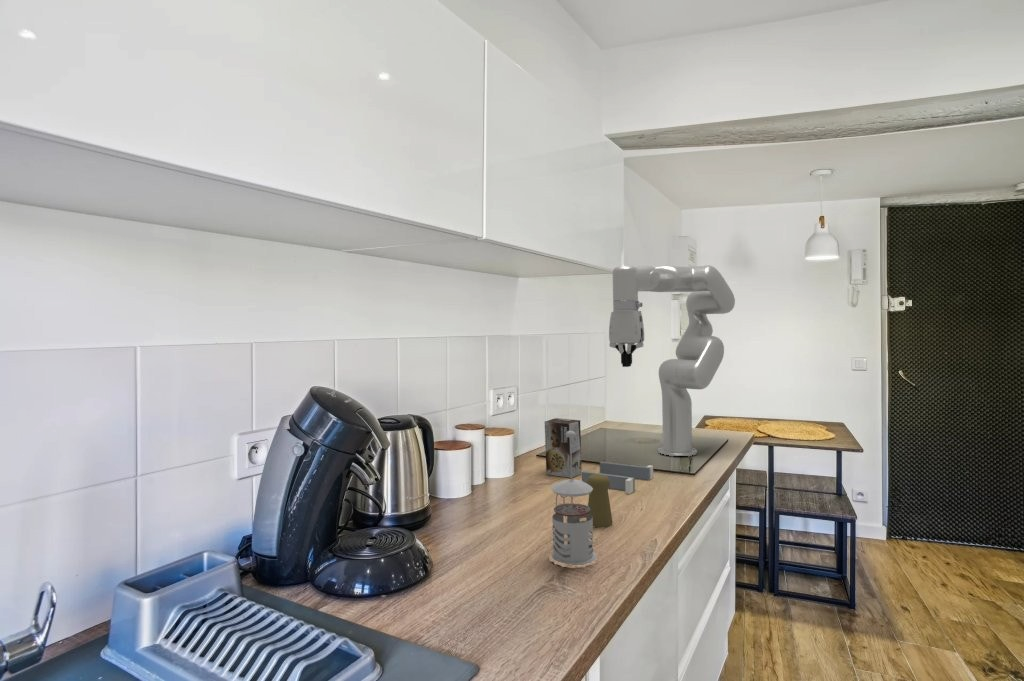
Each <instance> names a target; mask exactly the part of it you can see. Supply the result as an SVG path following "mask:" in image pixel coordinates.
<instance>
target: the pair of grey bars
mask: <svg viewBox="0 0 1024 681" xmlns="http://www.w3.org/2000/svg"><path fill="white" fill-rule="evenodd" d="M593 474H603V475H606V476H608V477H609V479H610V487H609V489H610V490H611V489H612V490H619V491H625V494H626V495H627V494H628V495H631V494H632V493H633V492H635V491H636V481H635V480H642V481H648V480H649V481H651V480H652V479H653V478H654V465H650V464H648V465H646V466H642V465H632V464H626V463H625V464H624V463H623V464H622V463H615V462H606V461H599V472H595V471H594V472H593V471H585V470H582V474H581V481H583V482H585V483H587V479H588V477H589V476H590V475H593ZM650 479H651V480H650Z"/></svg>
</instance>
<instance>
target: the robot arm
mask: <svg viewBox="0 0 1024 681" xmlns="http://www.w3.org/2000/svg"><path fill="white" fill-rule="evenodd" d="M639 292H652V293H689V294H688V295H687V297H686V300H685V301H686V302H685V304H686V305H685V307H686V310H687V315H688V326H687V327H686V329H685V331H684V333H683V335H682V337H681V338H680V340H679V342H678V344H677V346H676V349H675V356H676V358H670V359H667V360H665V361H663V362H662V363H661V364H660V366H659V367H658V368H659V369H658V379H659V383H660V388H661V390H660V391H661V397H662V398H661V399H662V400H661V401H662V403H661V405H662V406H661V408H662V409H661V411H662V413H661V414H662V446H661V447H658V449H657V450H658V454H660V453H661V454H660V455H662V454H664V455H663V456H666V455H669V456H668V457H673V456H688V457H693V456H696V455H697V454H698V450H697V448H695V447H693V416H692V415H693V414H692V413H693V412H692V411H693V409H692V408H693V405H692V404H693V403H692V399H691V395H690V393H689V391H688V389H689V390H704V389H706V388H708V386H709V385H710V384H711V383H712V380H713V378H714V377H715V375H716V373H717V371H718V369H719V368H720V365H721V363H722V361H723V358H724V354H725V346H724V343H723V341H722V339H720V337H718V336H715V335H713V331H714V330H713V325H712V324H711V322H710V320H709V319H708V316H707V315H720V314H721V315H723V314H728V313H731V311H733V309H734V307H735V304H736V299H735V295H734V293H733V291H732V289H731V287H730V286H729V285H728V282H727V281H726V279H725V278H724V277H723V275H722V274H721V272H720V271H719V270H718V269H717V268H716V267H714V266H712V265H708V264H707V265H700V266H699V265H698V266H674V265H666V266H656V267H654V266H651V265H644V266H643V265H642V266H634V265H633V266H632V265H624V266H623V265H619V266H617V267H616V266H615V267H614V268H613V269H612V307H613V308H612V309H613V311H611V313H610V318H609V326H608V340H609V347H610V348H614V349H616V350H617V351H618V352H619V354H620V363H621V366H622V367H623V368H625V367H626V368H628V367H631V366H632V364H633V353H634V352H635V351H636V350H637V349H639V348H643V347H644V346H645V345H644V341H645V328H644V321H643V313H642V310H639V309H640V307H641V308H642V307H643V306H644V305H643V302H640V301H639ZM626 344H627V346H626ZM692 455H693V456H692Z"/></svg>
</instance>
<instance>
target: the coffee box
mask: <svg viewBox="0 0 1024 681" xmlns="http://www.w3.org/2000/svg"><path fill="white" fill-rule="evenodd" d="M567 431H574V432H575V437H571V447H572V478H575V477H577V476H580V475H582V472H583V470H582V442H581V441H582V440H581V438H582V436H581V420H579V419H570V418H557V417H555V418H552V419H549V420H545V421H544V442H545V443H544V444H545V446H544V447H545V471H546V472H545V473H546V475H548V474H549V476H556V477H562V478H568V479H571V460H570V437H566V432H567Z"/></svg>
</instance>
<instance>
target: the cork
mask: <svg viewBox="0 0 1024 681" xmlns="http://www.w3.org/2000/svg"><path fill="white" fill-rule="evenodd" d="M587 484H588V485H590V486H591V487H592V488H593V490H592V492H591V493H590V494H588V499H587V500H588V501H587V506H589V508H590V509H591V510H590V512H589V514H591V515H592V517H593V526H595V527H594V528H597V527H604V528H608V527H607V526H609V527H611V526H612V525H613V524H614V522H613V516H612V510H611V501H610V496H609V489H610V488H609V487H610V479H609V477H608V476H606V475H603V474H593V475H590V476H589V477H588V479H587ZM585 519H586V520H585V521H589V520H590V519H589V518H585ZM612 523H613V524H612ZM610 525H611V526H610Z"/></svg>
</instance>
